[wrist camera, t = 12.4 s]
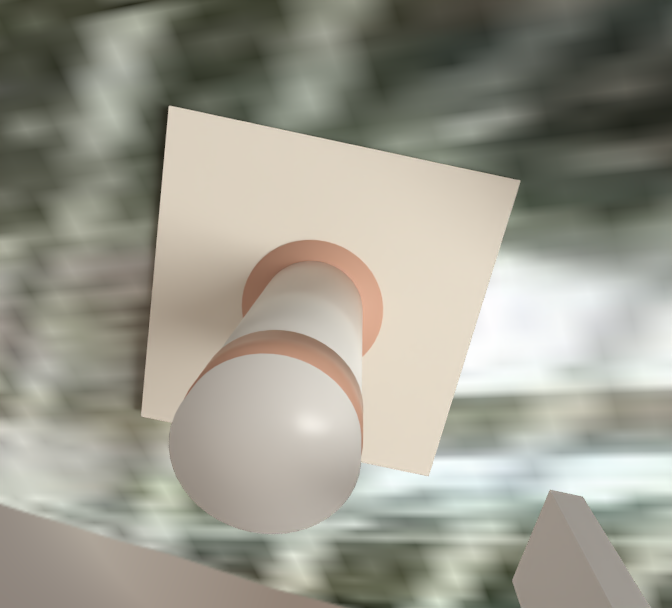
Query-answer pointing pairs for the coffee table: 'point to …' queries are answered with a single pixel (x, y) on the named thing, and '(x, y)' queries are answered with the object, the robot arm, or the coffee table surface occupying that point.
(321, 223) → the card
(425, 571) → the coffee table surface
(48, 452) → the coffee table surface
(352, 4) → the coffee table surface
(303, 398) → the plastic tube
